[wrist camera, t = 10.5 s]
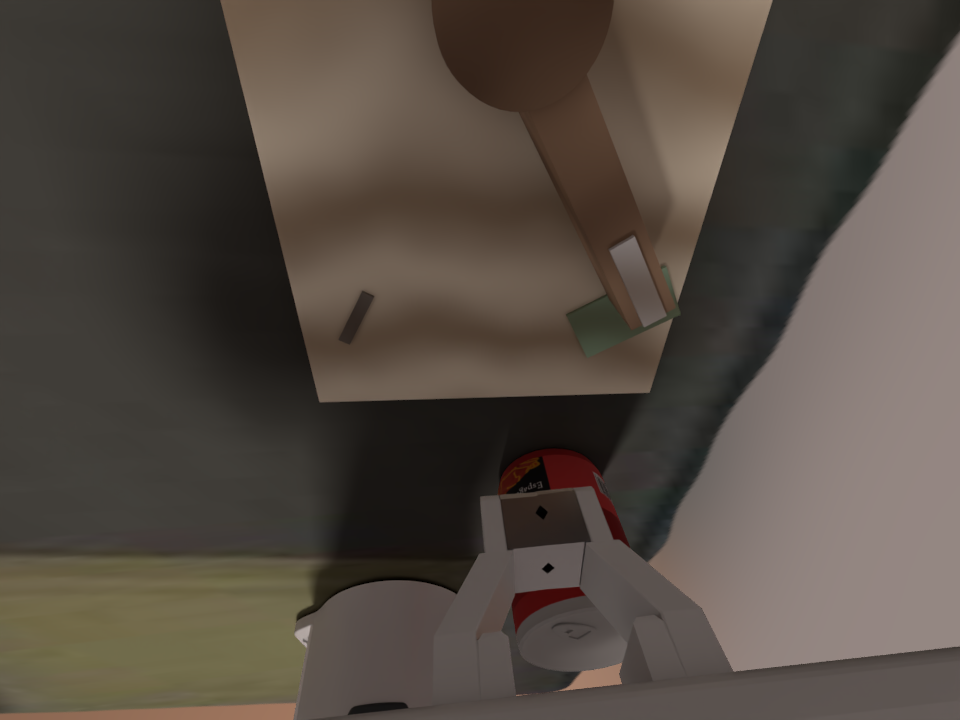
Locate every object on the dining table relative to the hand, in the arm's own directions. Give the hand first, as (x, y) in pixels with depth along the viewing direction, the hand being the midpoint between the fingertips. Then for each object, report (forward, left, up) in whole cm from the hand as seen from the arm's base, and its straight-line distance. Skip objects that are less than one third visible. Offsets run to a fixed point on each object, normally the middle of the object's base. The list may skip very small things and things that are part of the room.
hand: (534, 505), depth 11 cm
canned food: (-16, -5, -14) cm, 22 cm away
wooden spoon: (+7, -3, -11) cm, 14 cm away
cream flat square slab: (+4, 0, -14) cm, 14 cm away
